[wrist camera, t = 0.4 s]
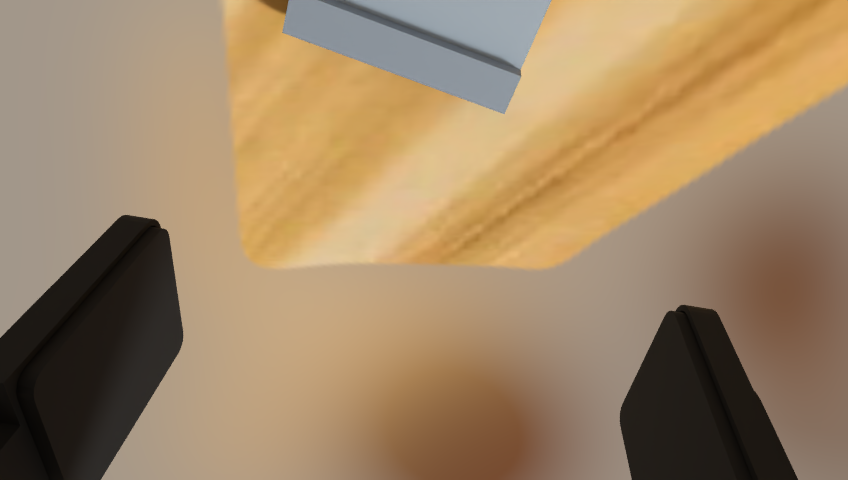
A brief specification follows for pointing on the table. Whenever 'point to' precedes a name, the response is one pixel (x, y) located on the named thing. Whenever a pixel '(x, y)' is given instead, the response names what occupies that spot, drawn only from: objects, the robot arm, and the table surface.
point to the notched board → (429, 40)
